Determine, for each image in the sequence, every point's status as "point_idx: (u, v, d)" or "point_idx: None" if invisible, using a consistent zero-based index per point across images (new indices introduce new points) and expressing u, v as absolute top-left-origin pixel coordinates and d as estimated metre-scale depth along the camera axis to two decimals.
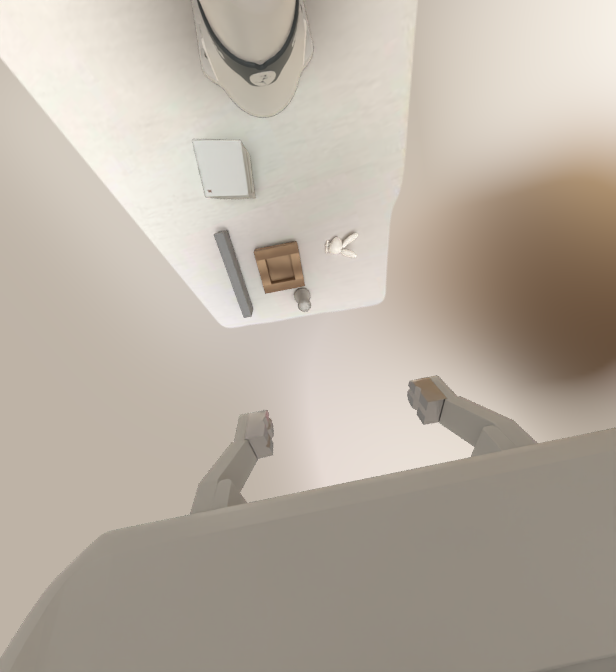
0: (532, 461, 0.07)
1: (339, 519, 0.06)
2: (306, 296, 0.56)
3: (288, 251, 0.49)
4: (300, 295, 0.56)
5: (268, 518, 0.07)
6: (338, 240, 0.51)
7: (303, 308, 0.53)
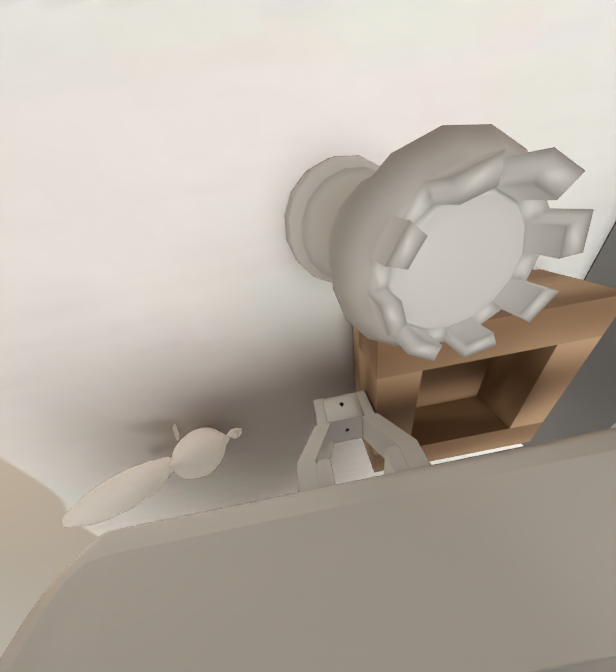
0: (532, 461, 0.07)
1: (339, 519, 0.06)
2: None
3: None
4: None
5: (268, 518, 0.07)
6: None
7: (499, 224, 0.03)
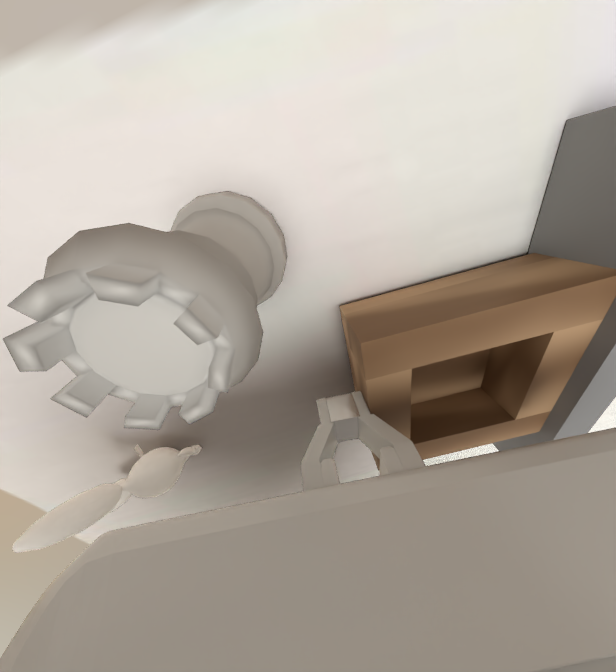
0: (532, 461, 0.07)
1: (339, 519, 0.06)
2: None
3: None
4: None
5: (268, 519, 0.07)
6: None
7: (142, 317, 0.03)
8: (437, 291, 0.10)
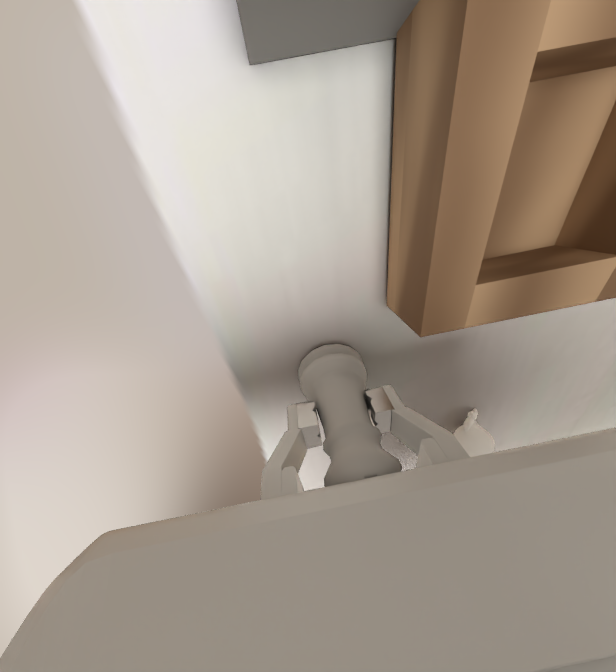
0: (532, 461, 0.07)
1: (339, 519, 0.06)
2: None
3: None
4: (363, 396, 0.12)
5: (268, 518, 0.07)
6: None
7: None
8: (402, 223, 0.09)
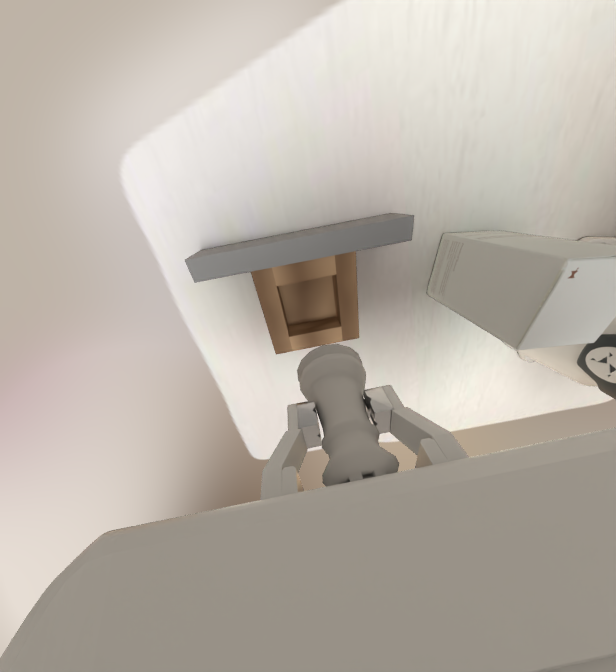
0: (532, 461, 0.07)
1: (339, 519, 0.06)
2: None
3: (346, 323, 0.24)
4: (361, 395, 0.12)
5: (268, 518, 0.07)
6: None
7: None
8: None
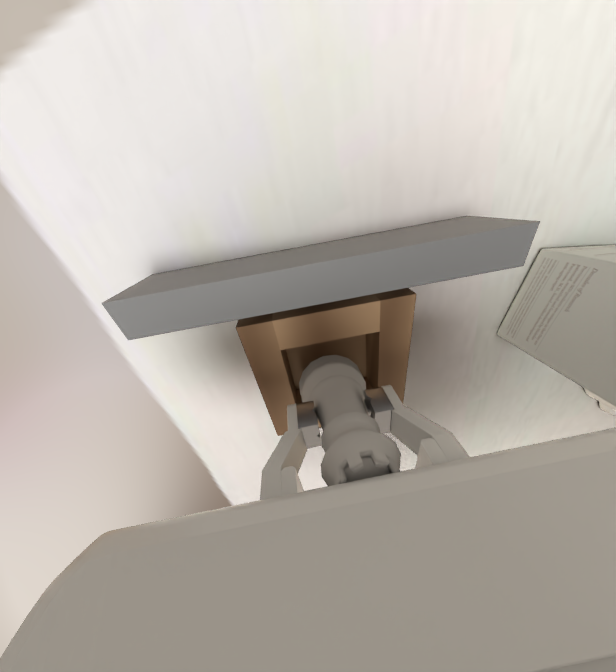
0: (532, 461, 0.07)
1: (339, 519, 0.06)
2: None
3: None
4: (361, 398, 0.12)
5: (269, 518, 0.07)
6: None
7: (352, 476, 0.08)
8: None
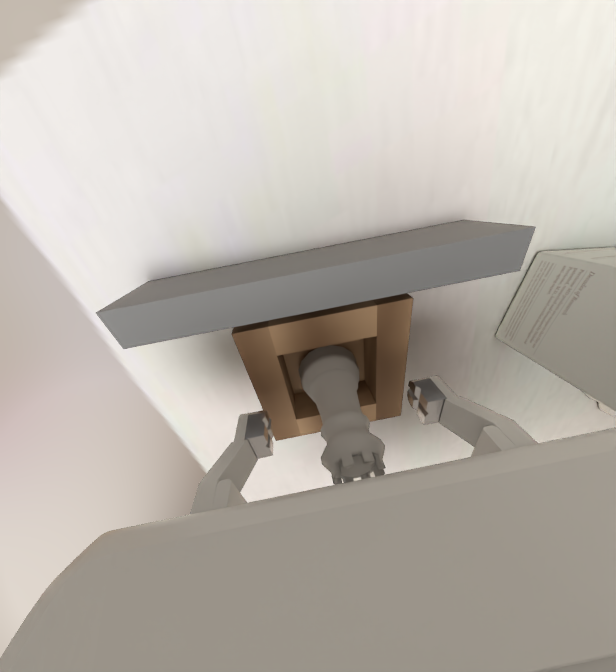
0: (532, 461, 0.07)
1: (339, 519, 0.06)
2: None
3: (384, 399, 0.16)
4: (354, 389, 0.14)
5: (268, 518, 0.07)
6: None
7: (345, 467, 0.10)
8: None
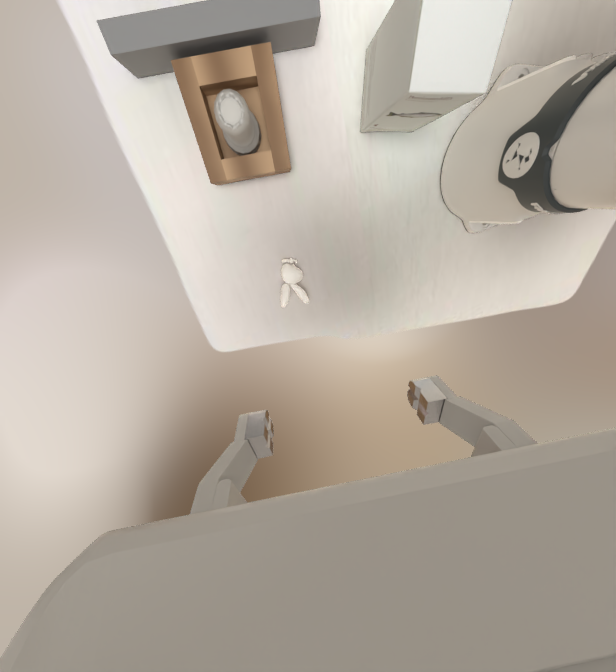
0: (532, 461, 0.07)
1: (339, 519, 0.06)
2: (248, 134, 0.24)
3: (275, 146, 0.25)
4: None
5: (268, 518, 0.07)
6: (300, 277, 0.35)
7: (223, 107, 0.20)
8: None
